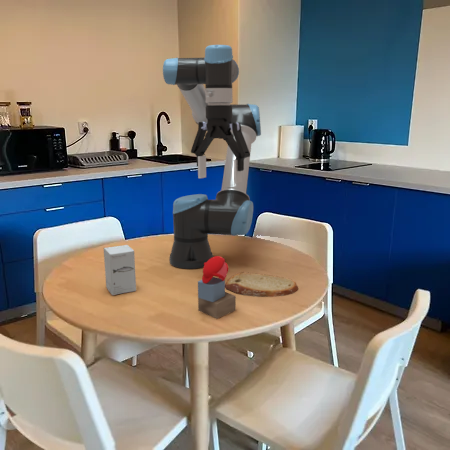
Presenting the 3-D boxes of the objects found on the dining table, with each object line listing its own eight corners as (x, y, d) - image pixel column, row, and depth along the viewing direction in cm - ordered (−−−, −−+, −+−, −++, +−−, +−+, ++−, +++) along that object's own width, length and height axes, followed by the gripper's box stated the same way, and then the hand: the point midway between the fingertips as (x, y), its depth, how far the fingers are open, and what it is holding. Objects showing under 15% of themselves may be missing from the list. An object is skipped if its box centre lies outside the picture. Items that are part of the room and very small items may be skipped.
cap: (216, 260, 124) (200, 253, 120) (232, 258, 119) (216, 250, 116) (211, 289, 121) (195, 282, 117) (227, 287, 116) (210, 280, 113)
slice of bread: (303, 290, 135) (304, 278, 134) (258, 306, 124) (258, 294, 123) (262, 273, 148) (263, 262, 147) (218, 286, 138) (218, 275, 137)
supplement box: (112, 296, 130) (108, 254, 127) (105, 287, 137) (102, 247, 133) (137, 291, 133) (134, 250, 130) (129, 283, 140) (127, 243, 137)
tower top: (198, 297, 119) (197, 281, 118) (210, 291, 123) (209, 275, 122) (213, 302, 116) (213, 285, 115) (224, 295, 120) (224, 279, 119)
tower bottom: (198, 311, 121) (198, 296, 120) (217, 303, 126) (216, 288, 125) (216, 320, 116) (216, 304, 115) (235, 311, 121) (235, 295, 120)
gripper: (177, 104, 132) (180, 177, 137) (246, 104, 116) (245, 186, 122) (195, 104, 137) (197, 174, 143) (263, 104, 122) (262, 182, 127)
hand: (219, 180), depth 132 cm, fingers open, 13 cm apart
